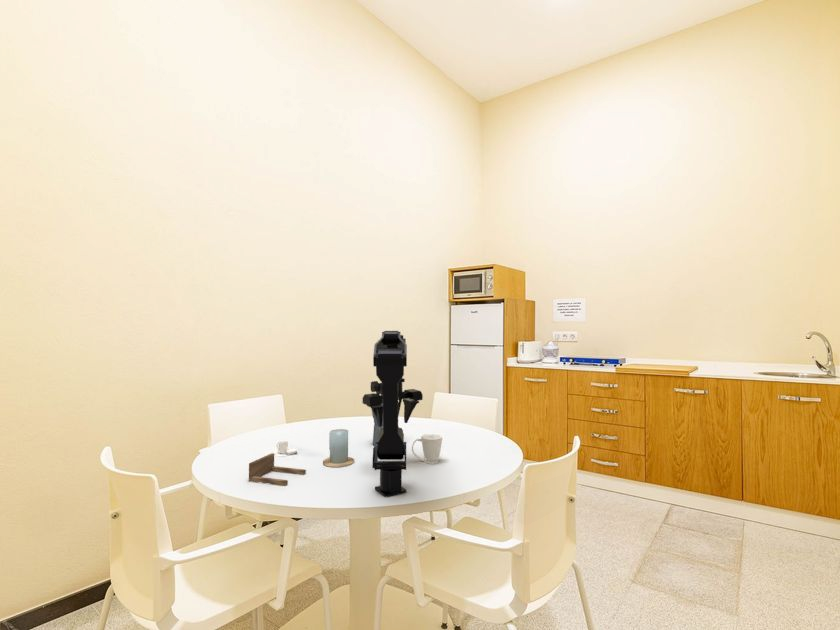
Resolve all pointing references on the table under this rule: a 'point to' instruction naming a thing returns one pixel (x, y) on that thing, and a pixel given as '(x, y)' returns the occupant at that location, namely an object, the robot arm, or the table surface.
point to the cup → (430, 447)
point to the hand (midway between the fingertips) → (393, 424)
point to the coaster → (328, 464)
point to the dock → (269, 470)
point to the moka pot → (377, 428)
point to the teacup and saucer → (284, 449)
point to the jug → (338, 446)
